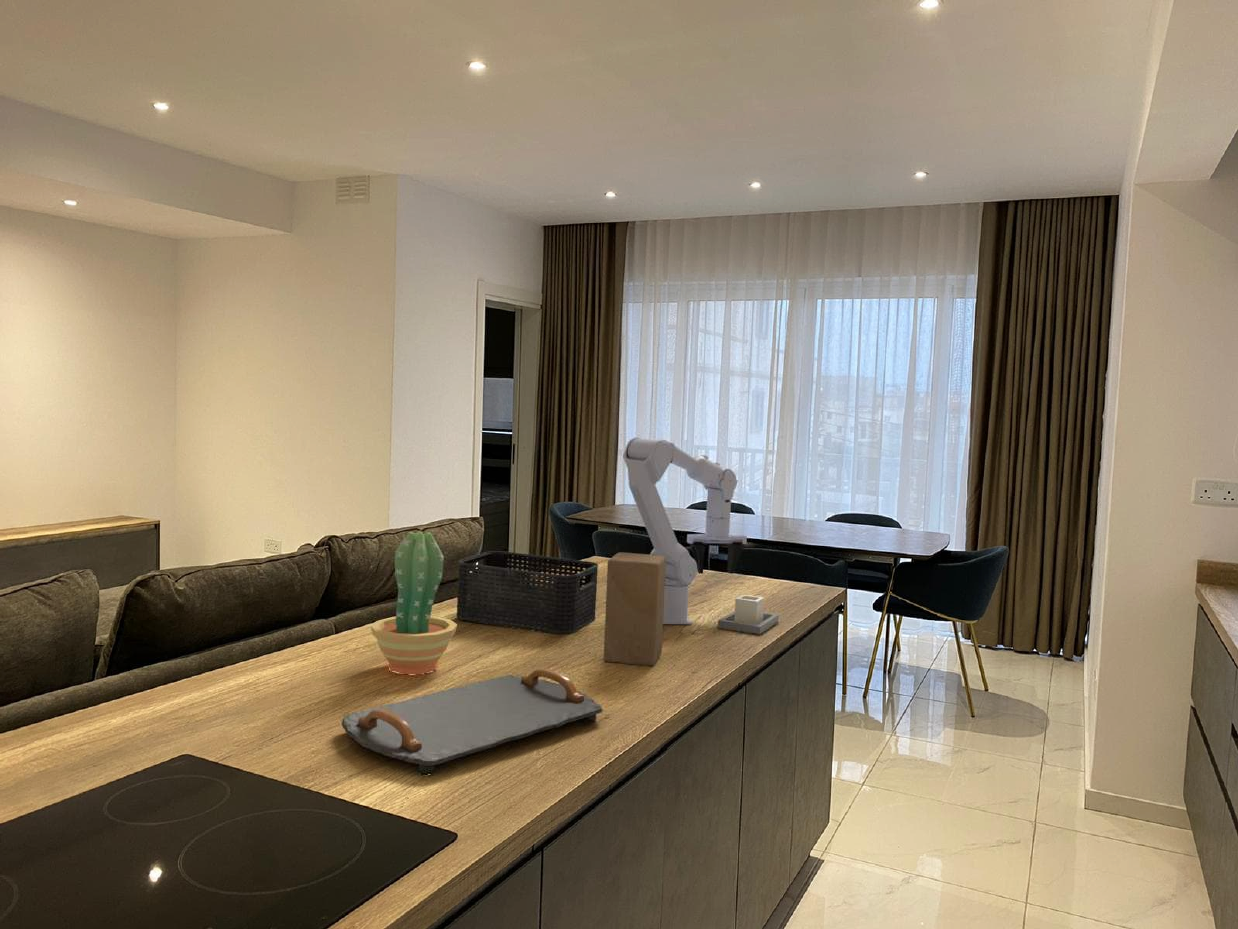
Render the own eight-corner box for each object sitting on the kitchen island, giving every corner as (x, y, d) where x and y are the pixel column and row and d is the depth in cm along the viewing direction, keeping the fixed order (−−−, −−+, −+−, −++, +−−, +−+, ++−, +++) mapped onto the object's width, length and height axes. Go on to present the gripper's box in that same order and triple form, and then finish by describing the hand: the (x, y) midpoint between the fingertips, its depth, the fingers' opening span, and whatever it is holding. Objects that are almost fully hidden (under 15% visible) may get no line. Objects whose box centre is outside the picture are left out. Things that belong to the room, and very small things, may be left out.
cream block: (755, 627, 206) (757, 601, 206) (734, 624, 209) (735, 598, 208) (762, 623, 211) (764, 597, 211) (741, 619, 213) (742, 594, 213)
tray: (760, 634, 202) (760, 626, 202) (717, 628, 206) (718, 620, 206) (778, 622, 214) (778, 614, 214) (737, 616, 219) (738, 608, 219)
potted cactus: (469, 662, 172) (474, 530, 170) (431, 685, 157) (436, 542, 155) (396, 652, 176) (400, 524, 174) (352, 674, 161) (356, 534, 159)
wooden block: (653, 667, 174) (658, 563, 172) (602, 662, 175) (607, 559, 174) (661, 653, 183) (666, 555, 182) (613, 648, 185) (617, 551, 184)
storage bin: (600, 618, 212) (602, 561, 211) (569, 637, 193) (571, 575, 193) (489, 604, 221) (491, 549, 220) (450, 621, 202) (452, 561, 202)
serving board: (523, 686, 160) (524, 652, 160) (618, 722, 144) (620, 684, 144) (320, 739, 132) (321, 698, 131) (412, 791, 116) (413, 744, 116)
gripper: (694, 519, 214) (691, 576, 215) (752, 520, 217) (749, 576, 218) (685, 515, 221) (682, 570, 222) (742, 516, 224) (739, 570, 225)
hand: (715, 572), depth 220 cm, fingers open, 7 cm apart
